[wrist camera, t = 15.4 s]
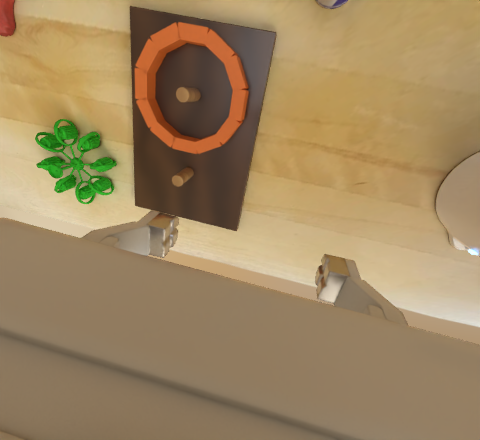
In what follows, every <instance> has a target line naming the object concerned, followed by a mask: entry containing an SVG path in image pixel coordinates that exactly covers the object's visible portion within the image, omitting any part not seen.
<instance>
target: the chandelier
mask: <svg viewBox="0 0 480 440" xmlns="http://www.w3.org/2000/svg"><path fill="white" fill-rule="evenodd" d="M61 121H66V122H68V123H69V124H70V125H68V126H61V127H59V128H58V125H59V123H60V122H61ZM54 133H55V135H53V134H51V133H47V132H40V133H38V134H37V135H36V137H35V140H36V142H37V143H38V144H39V145H40V146H41V147H43V148H44V149H46V150H48V151H52V152H62V153H63V154H64V155H65V156H66V157H68V158H69V159H70V160H71V163H65V161H64V160H61V159H60V158H59V157H56V156H54V157H50V158H46V159H44V160H42V161H41V162H40V163H37V164H36V165H37V167H38V168H43V169H45V170H48V172H49V174H50V175H51V176H52V177H54V178H60V177H62V176H63V171H62V170H65V169H68V168H71V167H73V170H72V172H71V174H70V175H69V176H67V177H65V178H62V179H60V180H59V181H57V182H56V186H55V189H54V190H55V191H56V192H57V193H61V192H64V191H66V190H68V189H71V188H73V187H75V185H76V177H75V176H74V175H72V173H73V172H74V170H75V169H76V170H78V172H79V176H80V179H81V182H80V183H79V184H78V185H77V187H76V191H75V193H76V197H77V199H78V201H79V202H81V203H83V204H89V203H91V202H92V201H93V200H94V198H95V193H98V194H101V195H109V194H111V193H112V192H113V190H114V187H113V185H112V183H111V182H110V180H109V179H108V178H104V177H101V176H91V175H90V174H89V173H87V172H86V171H85V170H84V169H83V168H84V165H89V166H90V169H96V170H97V171H98V172H104V171H107V170H109V169H112V167H114V166H116V165H117V163H116V161H112V160H111V159H110V158H108V157H105V158H101V159H98V160H97V161H96V162H94V163H92V164H83V162H82V161H81V160H80V159H81V157H82V156H83V154H84V152H87V151H89V150H91V149H93V148H97V147H98V146H99V145H100V135H99V134H98V133H97V132H91V133H89V134H87V135H86V136H83V137H82V138H80V139H79V144H78V146H77V149H78V150H79V151H80V152H82V154H81V156H80V158H75V155H74V152H73V149H72V145H74V144H75V143H76V142H77V140H78V130H77V129H76V127H75V126H74V124H73V123H72V122H71V121H69V120H66V119H60V120H58V121H57V122H56V123H55V125H54ZM39 135H47V136H45V137H43V138H41V139H40V141H39V140H38V136H39ZM95 135H97V136H95ZM74 138H75V139H74ZM69 139H74V141H73V143H71V144H69V145H68V144H66V143H64V142H63V141H62V140H69ZM62 145H63V149H60V150H56V149H55V148H59V147H61V146H62ZM65 145H66V146H70V148H71V151H72V154H73V157H74V158H73V160H72V159H71V158H70V157H69V156H67V155H66V154H65V153H64V152H63V151H64V149H65ZM81 148H83V150H81ZM62 165H69V166H66V167H63V168H60V167H61V166H62ZM79 170H83V171H84V172H85V173H86V174H88V175H89V176H90V179H89V180H88V181H83V180H82V177H81V174H80V171H79ZM72 177H73V178H72ZM92 178H99V180H97V181H95V182H94V183H93V184H91V182H90V180H91V179H92ZM84 182H86V183H88V184H89V185H87V186H84V187H82V188H80V189H79V187H80V185H81V184H82V183H84ZM110 187H111V189H112V191H111V192H109V193H104V192H102V191H105V190H107V189H109V188H110ZM58 189H59V190H58ZM57 190H58V191H57ZM91 196H92V198H91V200H90V201H89V202H87V203H85V202H83V201H82V200H81V199H87V198H89V197H91Z"/></svg>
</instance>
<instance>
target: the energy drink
mask: <svg viewBox="0 0 480 440" xmlns="http://www.w3.org/2000/svg"><path fill="white" fill-rule="evenodd" d="M347 1H348V0H316V2H317V3H318V4H319V5H320V6H322V7H324V8H327V9H333V8H337V7H340V6H341V5H343V4H345V3H346V2H347Z"/></svg>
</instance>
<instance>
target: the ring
mask: <svg viewBox="0 0 480 440" xmlns="http://www.w3.org/2000/svg"><path fill="white" fill-rule="evenodd" d="M150 37H151V39H148V40H147V42H146V45H145V47H144V49H143V51H142V53H141V55H140V57H139V59H138V61H137V63H136V66H137V67H138V68H135V99H139V100H137V101H136V102H137V105H138V107H139V109H140V111H141V113H142V115H143V117H144V120H145V122H146V124H147V126H148V128H151V129H150V130H151V131H152V132H153V133H154V134H155V135H156V136H157V137H159V138H160V139H161V140H162V141H163V142H164V143H166V144H167V145H168V146H169V147H172V148H173V149H176V150H181V151H185V152H189V153H194V154H197V153H198V154H200V153H203V152H206V151H209V150H212V149H214V148H217V147H220V146H222V145H223V144H225V143H226V142H227V141H228V140H229V139H230V138H231V136H232V135H233V134H234V133H235V131H236V130H237V129H238V128H239V126H240V125H241V124H242V123H243V121H242V120H244V117H245V111H246V105H247V99H248V94H249V91H248V90H245V89H248V88H249V87H248V83H247V80H246V77H245V73H244V70H243V67H242V63H241V60H240V57H238V54H237V53H236V52H235V51H234V50H233V49H232V48H231V47H230V46H229V45H228V44H227V43H226V42H225V41H224V40H223V39H222V38H221V37H220V36H219V35H218V34H217V33H216V32H214V31H213V30H212V29H209V28H208V27H204V26H199V25H193V24H188V23H182V22H178V23H176V22H175V23H173V24H171V25H170V26H168V27H166V28H164V29H162V30H161V31H159V32H157V33H155V34H153V35H152V36H150ZM186 43H190V44H195V45H200V46H205V47H208V48H209V49H210V50H211V51H212V52H213V53H214V54H215V55H216V56H217V57H218V58H219V59H220V60H221V61H222V62H223V63H224V65H225V68H226V71H227V74H228V77H229V81H230V84H231V87H232V90H233V92H232V99H231V106H230V113H229V117H228V118H227V120H226V121H225V122H224V124H223V125H222V126H221V128H220V129H219V130H218V132H217V133H216V134H213V135H211V136H208V137H205V138H203V139H198V138H193V137H189V136H184V135H181V134H180V133H179V132H178V131H176V130H175V129H174V128H173V127H172V126H171V125H170V124H169V123H167V122H166V121H165V119H164V117H163V115H162V113H161V110H160V108H159V106H158V103H157V101H156V99H155V88H156V72H157V71H158V69H159V67H160V65H161V63H162V61H163V59H164V58H165V56H166V54H167V53H168V52H170V51H172V50H174V49H176V48H178V47H180V46H182V45H184V44H186Z"/></svg>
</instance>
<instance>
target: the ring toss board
mask: <svg viewBox="0 0 480 440" xmlns="http://www.w3.org/2000/svg"><path fill="white" fill-rule="evenodd" d="M175 22H176V23H178V22H182V23H188V24H193V25H199V26H204V27H208V28H209V29H212V30H213V31H214V32H216V33H217V34H218V35H219V36H220V37H221V38H222V39H223V40H224V41H225V42H226V43H227V44H228V45H229V46H230V47H231V48H232V49H233V50H234V51H235V52H236V53H237V54H238V57H240V60H241V63H242V67H243V70H244V73H245V77H246V80H247V83H248V87H249V88H248V89H245V90H248V91H249V94H248V99H247V105H246V111H245V117H244V120H242V121H243V123H242V124H241V125H240V126H239V128H238V129H237V130H236V131H235V133H234V134H233V135H232V136H231V138H230V139H229V140H228V141H227V142H226V143H225V144H223V145H222V146H220V147H217V148H214V149H212V150H209V151H206V152H203V153H200V154H198V153H197V154H194V153H189V152H185V151H181V150H176V149H173V148H172V147H169V146H168V145H167V144H166V143H164V142H163V141H162V140H161V139H160V138H159V137H157V136H156V135H155V134H154V133H153V132H152V131H151V130H150V129H151V128H148V126H147V124H146V122H145V120H144V117H143V115H142V113H141V111H140V109H139V107H138V105H137V102H136V101H137V100H139V99H135V68H138V67H137V66H136V63H137V61H138V59H139V57H140V55H141V53H142V51H143V49H144V47H145V45H146V42H147V40H148V39H151V37H150V36H152V35H153V34H155V33H157V32H159V31H161V30H162V29H164V28H166V27H168V26H170V25H171V24H173V23H175ZM130 29H131V66H132V103H133V140H134V177H135V206H139V207H143V208H147V209H151V210H155V211H159V212H162V213H166V214H170V215H174V216H178V217H182V218H186V219H190V220H194V221H198V222H202V223H206V224H210V225H214V226H218V227H222V228H226V229H230V230H234V231H237V229H238V226H239V221H240V216H241V211H242V206H243V201H244V196H245V191H246V186H247V181H248V176H249V170H250V165H251V160H252V155H253V150H254V145H255V140H256V135H257V130H258V125H259V120H260V115H261V110H262V105H263V100H264V95H265V90H266V85H267V80H268V75H269V70H270V65H271V60H272V55H273V50H274V45H275V40H276V32H271V31H265V30H260V29H254V28H249V27H243V26H238V25H232V24H227V23H221V22H216V21H210V20H204V19H199V18H193V17H188V16H182V15H177V14H171V13H166V12H160V11H155V10H149V9H144V8H138V7H133V6H130ZM232 92H233V90H232V87H231V84H230V81H229V77H228V74H227V71H226V68H225V65H224V63H223V62H222V61H221V60H220V59H219V58H218V57H217V56H216V55H215V54H214V53H213V52H212V51H211V50H210V49H209V48H208V47H205V46H200V45H195V44H190V43H186V44H184V45H182V46H180V47H178V48H176V49H174V50H172V51H170V52H168V53H167V54H166V56H165V58H164V59H163V61H162V63H161V65H160V67H159V69H158V71H157V72H156V88H155V99H156V101H157V103H158V106H159V108H160V110H161V113H162V115H163V117H164V119H165V121H166V122H167V123H169V124H170V125H171V126H172V127H173V128H174V129H175V130H176V131H178V132H179V133H180V134H181V135H184V136H189V137H193V138H198V139H203V138H205V137H208V136H211V135H213V134H216V133H217V132H218V130H219V129H220V128H221V126H222V125H223V124H224V122H225V121H226V120H227V118H228V117H229V113H230V106H231V99H232Z"/></svg>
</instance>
